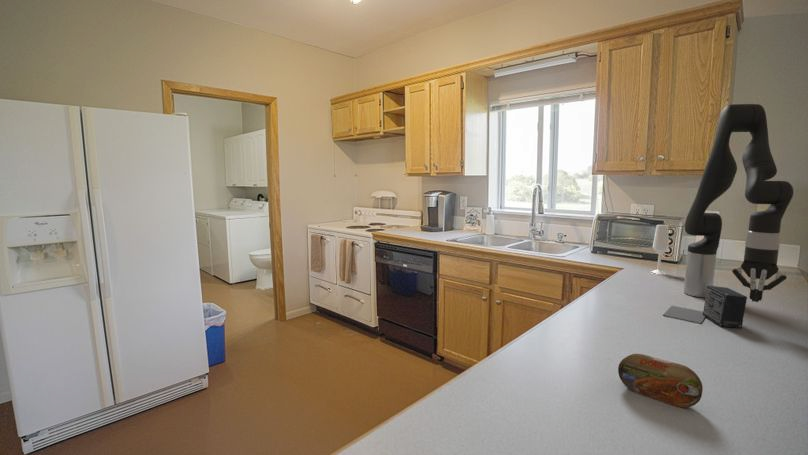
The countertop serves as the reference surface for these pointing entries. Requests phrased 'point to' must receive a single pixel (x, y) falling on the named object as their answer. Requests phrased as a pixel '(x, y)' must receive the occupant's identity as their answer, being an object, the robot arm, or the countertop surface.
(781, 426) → the countertop surface
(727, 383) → the countertop surface
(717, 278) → the countertop surface
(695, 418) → the countertop surface
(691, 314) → the mat
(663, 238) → the champagne flute
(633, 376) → the tin
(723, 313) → the small box
